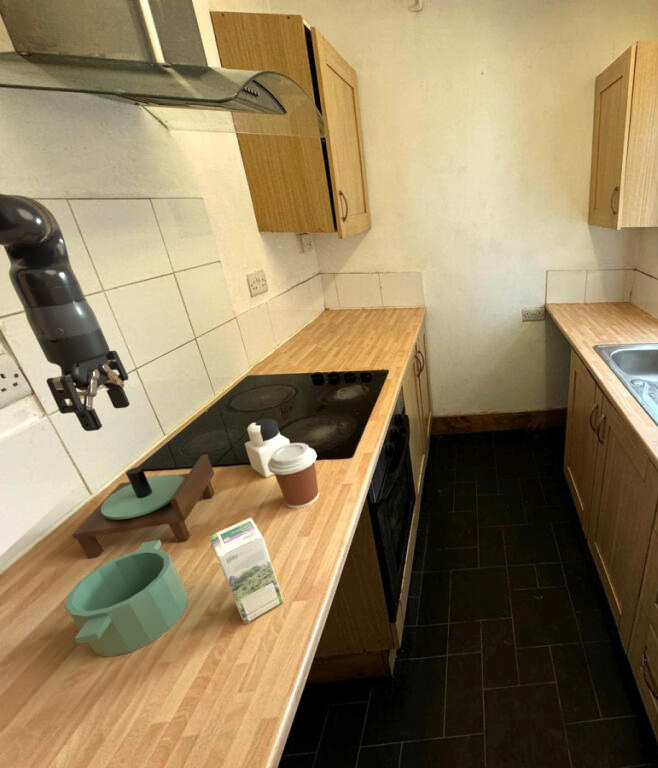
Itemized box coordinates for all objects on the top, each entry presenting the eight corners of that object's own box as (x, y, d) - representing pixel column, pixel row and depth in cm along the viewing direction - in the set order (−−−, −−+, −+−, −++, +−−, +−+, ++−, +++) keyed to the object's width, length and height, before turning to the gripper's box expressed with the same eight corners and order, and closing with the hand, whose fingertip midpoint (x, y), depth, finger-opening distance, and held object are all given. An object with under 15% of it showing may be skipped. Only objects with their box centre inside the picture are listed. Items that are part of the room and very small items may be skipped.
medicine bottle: (281, 454, 106) (269, 413, 101) (295, 464, 102) (284, 421, 97) (251, 468, 100) (237, 425, 95) (266, 478, 96) (252, 434, 92)
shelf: (85, 560, 75) (60, 516, 71) (131, 506, 88) (112, 467, 84) (193, 540, 79) (175, 498, 75) (221, 491, 92) (207, 453, 88)
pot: (58, 686, 55) (27, 644, 52) (128, 582, 70) (107, 545, 67) (159, 662, 58) (136, 621, 55) (206, 567, 73) (190, 530, 70)
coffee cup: (302, 517, 85) (289, 468, 80) (269, 507, 88) (254, 459, 83) (334, 490, 92) (324, 444, 88) (302, 481, 95) (291, 436, 90)
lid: (86, 528, 74) (69, 498, 71) (126, 485, 85) (113, 457, 83) (169, 514, 77) (156, 485, 74) (197, 474, 88) (187, 447, 86)
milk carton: (273, 581, 70) (250, 514, 64) (285, 603, 66) (262, 534, 61) (235, 602, 67) (207, 533, 61) (245, 627, 63) (216, 556, 57)
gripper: (69, 320, 73) (107, 403, 79) (3, 345, 60) (54, 441, 67) (120, 317, 74) (153, 398, 81) (66, 340, 62) (110, 434, 68)
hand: (109, 417), depth 74 cm, fingers open, 8 cm apart
